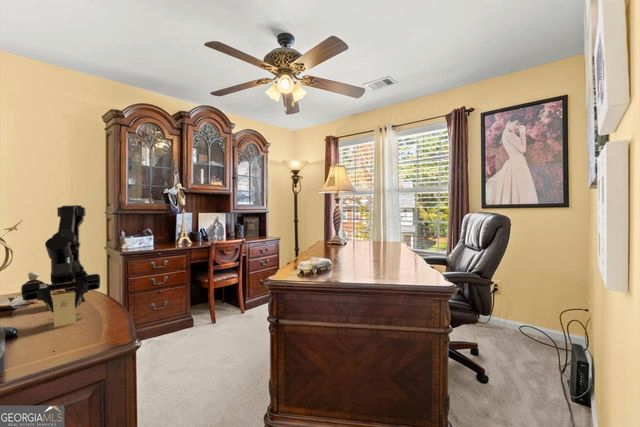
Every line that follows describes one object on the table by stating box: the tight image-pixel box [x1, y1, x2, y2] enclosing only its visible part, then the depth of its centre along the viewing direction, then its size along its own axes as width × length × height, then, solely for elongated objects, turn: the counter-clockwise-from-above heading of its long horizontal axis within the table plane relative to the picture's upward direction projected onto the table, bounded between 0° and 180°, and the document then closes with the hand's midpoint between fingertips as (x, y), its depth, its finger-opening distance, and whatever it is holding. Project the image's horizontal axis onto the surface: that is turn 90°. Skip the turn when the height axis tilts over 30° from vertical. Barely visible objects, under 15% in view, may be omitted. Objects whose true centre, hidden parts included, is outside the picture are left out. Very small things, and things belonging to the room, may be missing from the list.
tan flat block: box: [47, 313, 83, 332], centre depth 94 cm, size 12×8×2 cm
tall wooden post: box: [52, 290, 76, 329], centre depth 91 cm, size 3×5×10 cm
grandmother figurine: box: [24, 271, 46, 305], centre depth 118 cm, size 8×4×13 cm, turn 120°
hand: (64, 309), depth 90 cm, fingers closed on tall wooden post, 5 cm apart
